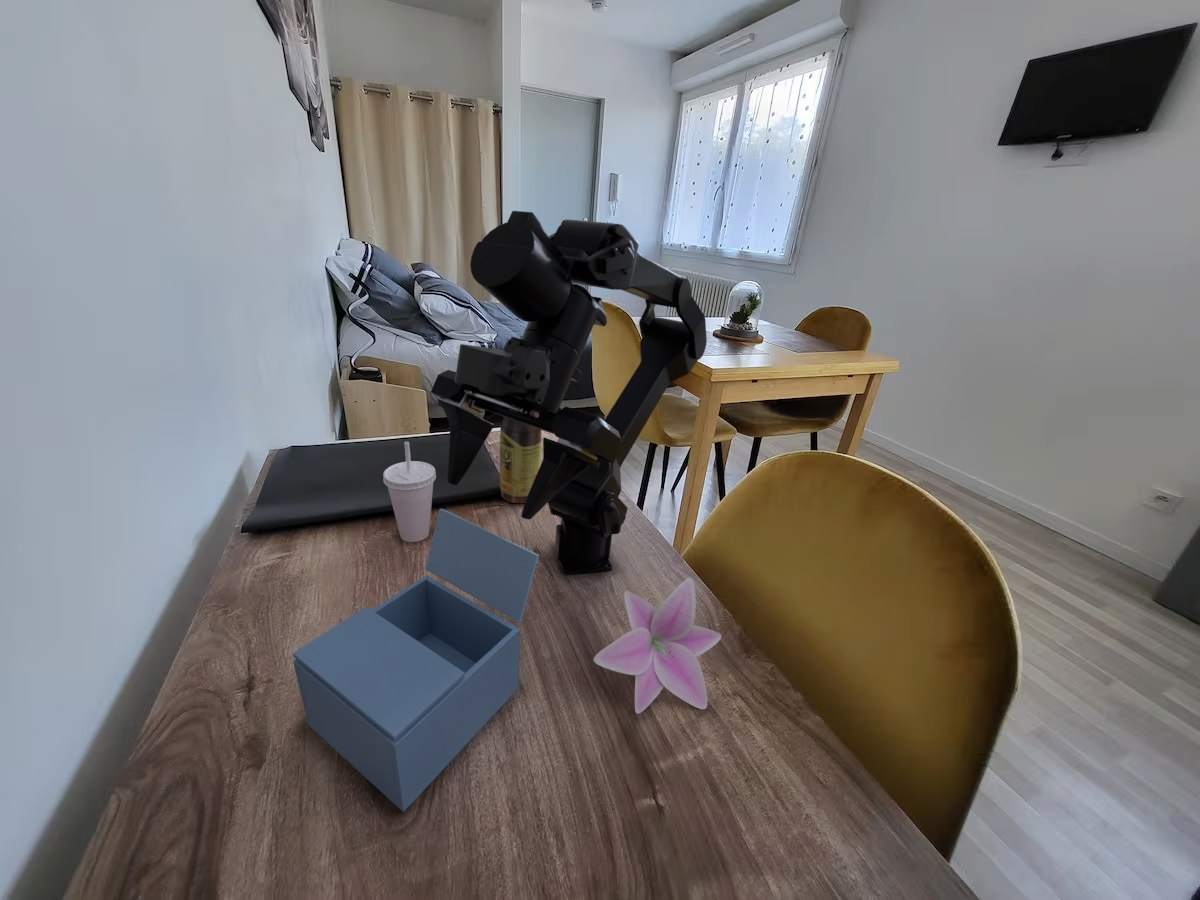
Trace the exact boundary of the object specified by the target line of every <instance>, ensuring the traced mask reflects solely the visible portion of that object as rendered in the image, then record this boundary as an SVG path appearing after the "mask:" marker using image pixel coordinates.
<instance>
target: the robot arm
mask: <svg viewBox="0 0 1200 900" xmlns="http://www.w3.org/2000/svg"><path fill="white" fill-rule="evenodd" d="M639 247H640V243H639V241H638V239H637V238H636V237H635V236H634V235H633V234H632V233H631V232H630V231H629V230H628V229H627V227H626V226H625V225H624V224H620V223H613V222H603V221H592V220H591V221H590V220H581V219H580V220H578V219H563V220H562V221H561V222H560V225H558V227H557V229H556V231H555V232H554V233H551V234H550V235H549V234H547V232H546V231H545V229H544V228H543V225H542V223H541V221H540V219H539V218H538V217H537V216H536V215H535V214H534V212H533V211H522V210H512V211H511V214H510V215H509V218H508V219H507V222H504V223H502V224H500V225H497V226H496V227H494V228H493V229H491V230H490V231H489V232H488V233H487V234H486V235H485V236H484V237H483V238H482V239H481V241H478V242H477V243H476V244H475V247H474V248H473V251H472V253H471V257H470V264H469V265H470V267H469V268H470V273H471V276H472V278H473V279H474V280H475V282H476V283H477V284H479V286H481V287H482V288H483V289H484V290H485V291H487V292H488V293H489V294H490V295H491V296H492V297H493V298H495V299H496V300H497V302H499V303H500V304H501V305H503V306H504V307H505V308H506V309H507V310H508V311H509V312H510V313H512V314H513V316H515V317H516V318H517V319H519V320H521V321H523V322H527V324H526V326H525V328H524V332H523V333H522V336H521V338H519V337H514V336H511V337H510V338H509V339H508V340H507V341H506V344H505V346H504V348H503V349H498V348H491V347H486V346H479V345H470V344H463V343H461V344H460V345H459V351H458V356H457V357H458V358H457V364H456V371H453V370H452V369H451V370H450V369H447V370H444V371H442V372H441V373H439V374H437V376H436V378H435V381H434V383H433V385H432V388H431V390H430V394H432V395H434V396H436V397H439V398H440V399H437V400H436V403H437V406H438V407H440V408H442V410H443V412H444V413H445V416H446V418H447V421H448V425H449V446H448V449H449V450H448V461H447V462H448V463H447V475H446V476H447V477H446V481H447V484H450V485H453V486H457V485H458V484H459V483H460V482H461V480H462V479H463V478H464V477H465V475H466V474H467V472H468V470H469V469H470V468H471V465H472V464H473V462H474V461H475V459H476V458H477V456H478V454H479V452H480V450H481V449H482V447H483V446H484V443H485V442H486V441H487V439H488V437H489V435H490V434H491V432H492V430H493V429H494V427H495V424H494V423H492V422H490V421H488V420H489V419H491V418H493V417H495V416H496V415H498V416H500V417H503V418H504V417H506V418H509V419H512V420H515V421H518V422H520V423H523V424H526V425H529V426H532V427H535V428H538V429H540V430H541V431H543V432H547V433H548V434H552V435H554V436H555V437H556V438H557V440H556V441H555V440H553V439H551V438H548V437H543V438H542V454H543V455H542V461H541V462H540V468H539V470H538V473H537V475H536V477H535V480H534V482H533V484H532V487H531V489H530V491H529V494H528V496H527V498H526V501H525V503H523V508H522V511H521V513H520V514H521V515H520V517H521V519H524V520H528V521H529V520H531V519H533V518H534V517H535V516H536V515H537V514H538V513H539V512H540V511H541V510H542V508H544V507H545V506H546V505H548V508H549V512H550V515H553V516H557V517H559V518H560V523H559V524H557V525H556V528H555V541H554V542H555V543H554V552H555V556H556V560H557V562H558V563H560V565H561V569H562V572H563V574H564V575H574V574H575V575H576V574H577V575H578V574H588V573H599V572H601V573H602V572H609V571H612V570H613V564H612V561H611V560H612V559H611V558H610V556H611V555H610V554H611V548H612V547H611V546H612V539H613V535H619V534H620V533H621V531H622V525H623V524H624V523H625V520H626V518H627V514H628V509H629V507H627V506H626V504H625V503H624V502H623V501H622V500H621V498H620V497H619V496H620V494H621V492H622V477H621V467H622V465H623V464H624V462H625V460H626V458H627V457H628V455H629V453H630V451H631V450H632V448H633V446H634V445H635V443H636V441H637V440H638V438H639V437H640V435H641V433H642V431H643V430H644V428H645V426H646V425H647V423H648V420H649V419H650V418H651V416H652V414H653V412H654V411H655V410H656V407H657V405H658V404H659V402H660V401H661V399H662V397H663V395H664V394H665V392H666V391H667V388H668V387H669V386H670V384H671V383H673V382H675V381H677V380H679V379H681V378H683V377H685V376H687V375H688V374H689V373H690V372H691V370H693V368H694V367H695V365H696V364H697V363H698V361H699V360H701V359H702V357H703V355H704V354H705V351H706V348H707V341H708V340H707V339H708V338H707V325H706V324H707V323H706V322H707V321H706V316H705V314H704V312H703V311H702V309H701V307H700V306H699V305H698V304H697V301H696V300H695V298H694V297H693V295H692V283H691V280H690V278H688V277H685V275H683V274H677V273H675V272H674V271H672V270H670V269H669V268H667V267H665V266H664V265H662V264H659V263H658V262H657V261H654V260H653V259H651V258H649V257H647V256H645V255H643V254H642V253H641V252H640V251H639ZM584 286H589V287H594V288H601V289H607V290H615V291H622V292H626V293H629V294H631V295H633V296H635V297H638V298H641V299H644V300H645V309H644V311H643V313H642V315H641V317H640V319H639V321H638V326H639V331H640V335H641V339H640V341H639V351H640V352H639V354H640V362H639V364H638V365H637V366H636V369H635V370H634V372H633V373H632V375H631V376H630V378H629V379H628V382H627V383H626V384H625V386H624V387H623V389H622V391H621V393H620V394H619V395H618V397H617V399H616V401H614V404H613V405H612V407H611V408H610V410H609V412H608V413H607V414H606V416H605V418H604V419H602V418H601V417H600V416H598V415H595V414H592V413H588V412H586V411H582V410H578V409H576V408H573V407H569V406H564V407H561V405H562V402H563V400H564V398H565V395H566V393H567V390H568V388H569V386H570V383H571V381H573V382H577V383H578V382H579V381H580V379H581V376H582V374H583V372H582V371H581V370H580V369H579V368H578V367H577V366H578V364H579V362H580V360H581V357H582V354H583V352H584V349H585V347H586V345H587V342H588V339H589V338H590V335H591V332H592V330H593V327H594V325H595V326H599V327H606V326H607V324H608V318H607V313H606V312H605V310H604V306H603V298H602V297H598V296H593V295H591V293H590V292H589V290H588V289H586V288H585V287H584ZM655 306H662V307H668V308H674V309H675V311H676V314H677V316H678V317H679V319H680V320H681V321H680V320H675V319H671V318H665V317H656V314H655ZM510 409H511V410H514V411H517V413H516V412H513V411H510ZM531 411H533V412H536V413H538V414H539V417H535V416H532V415H530V414H531ZM484 418H486V419H488V420H486V419H484Z"/></svg>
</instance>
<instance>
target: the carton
mask: <svg viewBox="0 0 1200 900" xmlns="http://www.w3.org/2000/svg"><path fill="white" fill-rule="evenodd" d="M520 643H521V628H519V627H518V626H516V625H515V624H513V623H511V622H509V621H507V620H505V619H504V618H502V617H501V616H498V615H497V614H495V613H494V612H492V611H490V610H488V609H487V608H485V607H483V606H482V605H480V604H478V603H476V602H475V601H472V600H471V599H469V598H468V597H466V596H465V595H462V594H460V593H459V592H457V591H455V590H454V589H452V588H450V587H448V586H447V585H445V584H443V583H441V582H439V581H438V580H436V579H435V578H433V577H431V576H429V575H428V574H425V575H424V576H423V577H421V578H419V579H418V580H416V581H415V582H413V583H412V584H410V585H409V586H406V587H405V588H404V589H402V590H401V591H399V592H397V593H396V594H395V595H393V596H391V597H390V598H388V599H386V600H385V601H383V602H382V603H381V604H379V605H378V606H376V607H375V608H373V609H371V608H369V607H367V606H364V607H363V608H361V609H360V610H359V611H357V612H355V613H354V614H352V615H351V616H349V617H348V618H346V619H344V620H343V621H341V622H339V623H338V624H336V625H334V626H333V627H332V628H330V629H328V630H327V631H324V633H322V634H320V635H318V636H317V637H316V638H313V640H310V641H309V642H308V643H306V644H305V645H303V646H301V647H300V648H298V649H296V650H295V651H294V652H292V657H293V658H294V660H292V663H293V667H294V671H295V675H296V679H297V680H296V681H297V683H298V688H299V693H300V696H301V701H302V705H303V709H304V714H305V717H306V722H307V725H308V727H309V728H310V729H312V731H314V732H315V733H316V734H317V735H318V736H319V737H320V738H322V739H323V740H324V741H325V742H326V743H327V744H328V745H329V746H330V747H331V748H332V749H334V751H336V752H337V754H339V755H340V756H341V757H342V758H343V759H344V760H346V761H347V762H348V763H349V764H350V765H351V766H352V767H353V768H354V769H355V770H356V771H357V772H359V774H360V775H362V776H363V777H364V778H365V779H366V780H367V781H368V782H370V783H371V784H372V785H373V786H374V787H375V788H376V789H377V790H378V791H379V792H380V793H382V794H383V795H384V796H385V797H386V798H387V799H388V800H389V801H390V802H391V803H393V804H394V805H395V807H397V808H398V809H399V810H400V811H401V812H402V813H404V812H405V811H407V809H408V808H409V807H410V806H411V805H412V804H413V803H414V802H415V801H416V799H417V798H418V797H419V796H420V795H422V794H423V792H424V791H425V790H426V789H427V788H428V787H429V786H430V784H431V783H433V781H434V780H435V779H436V778H437V777H438V776H439V775H440V774H441V773H442V771H443V770H444V769H445V768H446V767H447V766H448V765H449V764H450V763H451V762H452V761H453V760H454V759H455V758H456V756H458V754H459V753H460V752H461V751H462V750H463V749H464V748H465V747H466V746H467V744H469V742H470V741H471V740H472V739H473V738H474V737H475V736H476V735H477V734H478V733H479V732H480V731H481V729H483V727H484V726H485V725H486V724H487V723H488V722H489V721H490V720H491V719H492V718H493V716H494V715H495V714H497V712H498V711H499V710H500V709H501V708H502V707H503V706H504V705H505V703H507V701H508V700H509V699H510V698H511V697H512V696H513V695H514V694H515V693H516V692H517V691H518V689H519V686H520V685H519V681H520V680H519V679H520V648H521V646H520V645H521V644H520Z"/></svg>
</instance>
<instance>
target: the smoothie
mask: <svg viewBox="0 0 1200 900" xmlns="http://www.w3.org/2000/svg"><path fill="white" fill-rule="evenodd" d="M403 443H404V444H403V445H404V455H405V461H401V462H398V463H394V464H392V465H390V466H388V467H387V468H386V469H385V470H384V471H383V474H382V476H383V484H384V485H385V486H387V490H388V495H389V498H390V501H391V505H392V509H393V513H394V516H395V520H396V524H397V525H396V526H397V529H398V533H399V536H400V539H401V541H404V542H408V543H417V542H421V541H423V540H425V539H426V538H428V537H429V535H430V529H431V528H430V527H431V516H432V503H433V491H434V482H435V480H436V478H437V473H436V468H435V466H433V465H432V464H430V463H429V462H424V461H417V460H411V450H410V449H411V447H410V442H409V441H404V442H403Z"/></svg>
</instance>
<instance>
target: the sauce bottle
mask: <svg viewBox="0 0 1200 900" xmlns="http://www.w3.org/2000/svg"><path fill="white" fill-rule="evenodd" d="M510 411H513V412H516V413H517V411H514V410H511V409H510ZM530 415H532V416H535V417H539V415H540V414H539V413H536V412H533V411H531V414H530ZM499 429H500V431H499V432H500V433H499V489H500V491H499V493H500V496H501V497H502V498H503V499H504V500H505V501H506V502H508V503H511V504H513V503H514V504H525V501H526V498H527V496H528V494H529V491H530V489H531V487H532V484H533V482H534V480H535V477H536V475H537V473H538V470H539V468H540V465H541V460H542V459H541V457H542V456H541V455H542V454H541V453H542V443H543V438H542V430H540V429H538V428H535V427H532V426H529V425H526V424H523V423H520V422H518V421H515V420H512V419H509V418H506V417H503V419H502V423H501V424H500V427H499Z"/></svg>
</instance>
